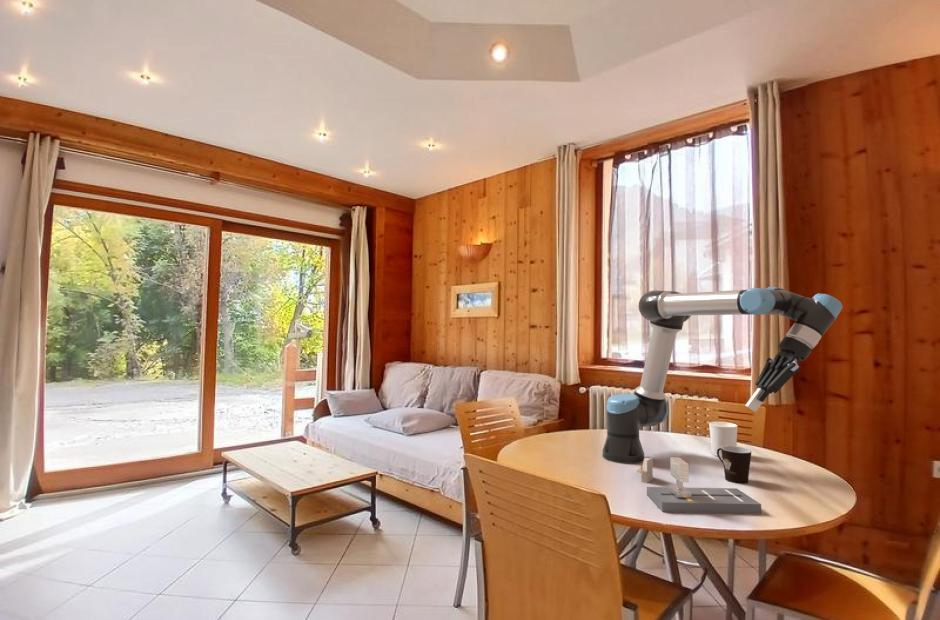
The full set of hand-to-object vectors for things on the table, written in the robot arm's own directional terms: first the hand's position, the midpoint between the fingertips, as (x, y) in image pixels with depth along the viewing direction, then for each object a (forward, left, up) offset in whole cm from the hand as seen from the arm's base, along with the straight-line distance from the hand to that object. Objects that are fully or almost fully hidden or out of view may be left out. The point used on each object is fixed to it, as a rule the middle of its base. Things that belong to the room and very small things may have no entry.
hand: (750, 408), depth 135 cm
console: (-12, -13, -26) cm, 31 cm away
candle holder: (-10, +47, -26) cm, 55 cm away
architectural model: (-29, 0, -27) cm, 39 cm away
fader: (-17, -16, -23) cm, 33 cm away
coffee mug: (-5, +17, -26) cm, 32 cm away
